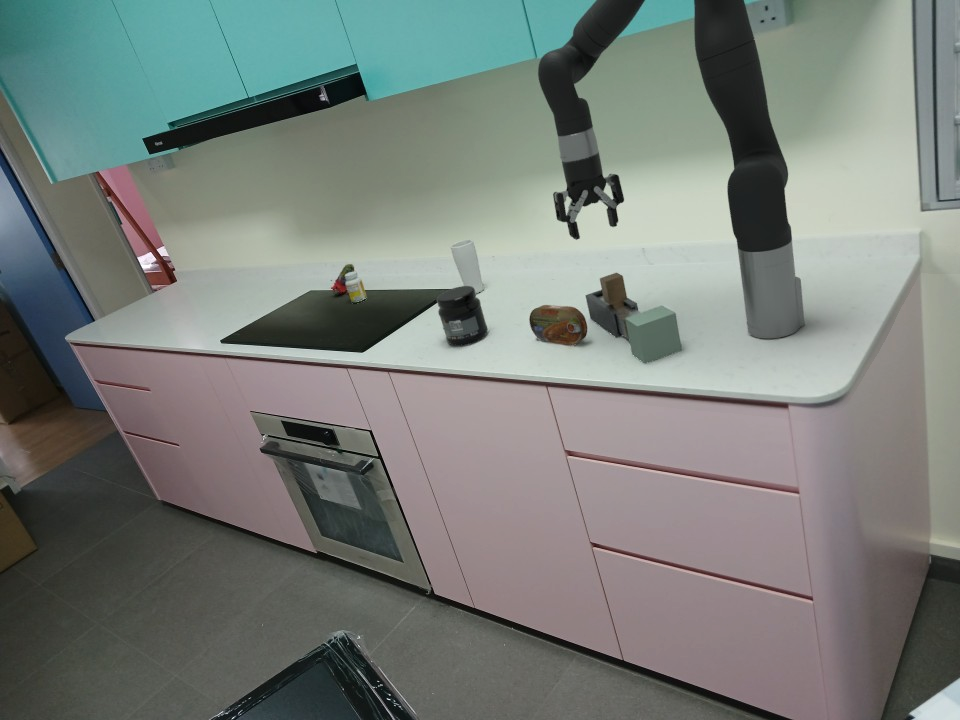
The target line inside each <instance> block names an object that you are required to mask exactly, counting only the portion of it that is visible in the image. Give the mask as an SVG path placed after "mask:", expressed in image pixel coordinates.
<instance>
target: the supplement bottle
mask: <svg viewBox="0 0 960 720" xmlns="http://www.w3.org/2000/svg"><path fill="white" fill-rule="evenodd" d="M345 278H346V280H347V281H346V283H345V284H346V287H347V289H346V290H347V291H348V293H349V294H348V293H347V294H348V295H349V298H350V301H351V303H352V302H359V301H362V300H364V299H366V298H367V299H368V296H367V293H366V290H365V286H364V284H363V280H362V278H361V277H359V275H358V272H357V271H354V272H350V273H347V274H345ZM367 299H366V300H367Z"/></svg>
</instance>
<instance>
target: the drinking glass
mask: <svg viewBox="0 0 960 720" xmlns="http://www.w3.org/2000/svg"><path fill="white" fill-rule="evenodd" d="M450 250H451V254H452V257H453V261H454V264H455V266H456V269H457V271H458V274H459V276H460V279H461V282H462V284H463V286H471V287H473V288H474V289H475V293H476V295H477V294H480V293H481V292H483V291H484V289H485V288H484V284H483V279H482V275H481V270H480V264H479V259H478V253H477V249H476V246H475V244H474V240H473V239H462V240H459V241H457V242H455V243H452V244H451V245H450ZM479 292H480V293H479Z"/></svg>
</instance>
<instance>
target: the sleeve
mask: <svg viewBox="0 0 960 720" xmlns="http://www.w3.org/2000/svg"><path fill="white" fill-rule="evenodd" d="M601 296H603V293H602V289H600V290H596V291H594V292H591V293H588V294H585V299H586V303H587V304H586V305H587V308H588V315H589V319H590V320H591V321H593V323H595V322H596V323H595V324H597V325H598V326H599V325H600V328H603V330H605V331H607V332H608V334H610V333H611V334H610V335H612V336H613V337H614V336H615V337H614V338H620V337H623V336H622V334H620V333H619V332H618V330H617V325H616V320H615V316H614V314H616V313H618V312H617V310H616V309H615V308H613V307H611V306H610V305H608V304H607V303H605V302H604V301H602V300H601V299H599V298H598V297H601ZM623 302H624V304H626V305H627V306H629V307H631V308H634V309H636V310H637V311H639V306H638V303H637V302H636V301H634V300H632V299H630V298H629V297H627V300H624V301H623Z"/></svg>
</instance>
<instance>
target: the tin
mask: <svg viewBox="0 0 960 720" xmlns="http://www.w3.org/2000/svg"><path fill="white" fill-rule="evenodd" d="M587 323H588V322H587V319H586V317H585V316H584V314H583V313H582V311H580V310H579V309H578V308H577V307H575V306H574V307H573V306H570V305H569V306H568V305H554V304H553V305H552V304H544V305H540V306H539V307H535V308H533V310H531V312H530V314H529V325H530V328H531V331H532V333H533V334H534V335H535V337H536V338H537V339H539V341H541V342H543V343H548V344H549V343H550V344H556V345H565V346H575V345H577V344H579V343H580V342H582V341H583V340H584V339H585V338H586V337H587V334H588V324H587Z"/></svg>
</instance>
